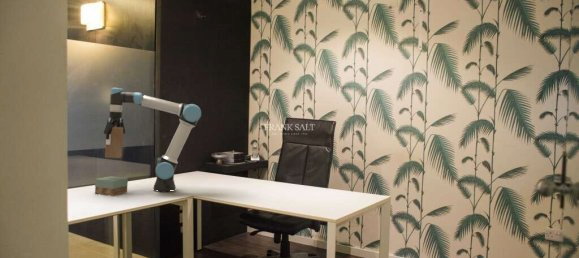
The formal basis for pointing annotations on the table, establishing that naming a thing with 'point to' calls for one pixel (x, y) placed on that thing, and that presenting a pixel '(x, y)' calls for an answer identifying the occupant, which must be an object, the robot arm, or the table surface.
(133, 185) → the table surface
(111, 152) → the block
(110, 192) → the tower base
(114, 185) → the tower top
